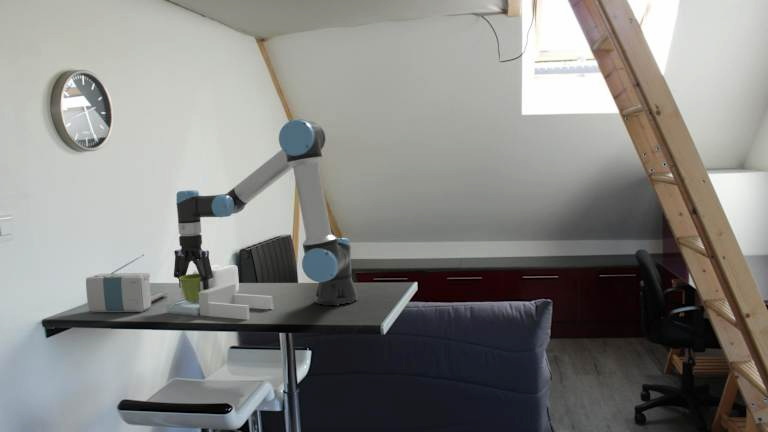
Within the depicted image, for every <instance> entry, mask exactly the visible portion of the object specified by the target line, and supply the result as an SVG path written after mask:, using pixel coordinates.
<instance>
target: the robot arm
mask: <svg viewBox="0 0 768 432" xmlns="http://www.w3.org/2000/svg"><path fill="white" fill-rule="evenodd" d="M278 142H279V143H278V144H279V146H280V148H281V150H279V151H278V152H276V153H275V154H274V155H273V156H272V157H271V158H269V159H268V160H266V161H265V162H264V163H262V164H261V166H259V167H258V168H257V169H256V170H254V171H253V172H252V173H250V174H249V175H247V177H246V178H244V179H243V180H242V181H240V182H239V183H238V184H236V185H235V186H234V187H233V188H232V189H230V190H229V191H228V192H227V193H223V194H214V195H213V194H212V195H200V194H199V191H198V190H196V189H195V190H193V189H191V190H189V189H188V190H179V191H178V192H176V204H175V205H176V211H177V224H178V225H177V226H178V235H179V237H178V239H179V246H180V247H181V249H176V250H174V251H173V253H174V268H173V278H176V279H178V284H179V285H178V286H179V289H180V299H184V298H185V295H184V290H183V286H182V283H181V280H180V279H179V277H181V276H184V275H187V272H188V268H189V265H190V263H191V262H192V263H193V264H194V265H195V267H196V270H198V272H199V275H200V277H201V279H202V280H200V289H201V291H204V290H207V289H209V283H208V280H209V279H211V278H213V274H212V269H211V266H212V265H211V262H210V261H211V260H210V251H209V250H204V249H202V244H203V239H202V238H203V237H202V235H201V233H202V226H201V225H202V223H201V218H226V217H231V216H232V214H233V215H234V214H237V213H240V212H241V211H242V210H244V209H245V207H246V206H247V204H248V203H250V202H251V201H252V200H254V199H255V198H256V197H257V196H259V195H260V194H261V193H263V192H264V191H265V190H266V189H267V188H269V187H270V186H272V185H273V184H274V183H276V182H277V181H278V180H280V179H281V178H282V177H283V176H285V175H286V174H287V173H288V172H290V170H292V169H293V175H294V179H295V180H294V181H295V185H296V191H297V196H298V201H299V202H298V203H299V208H300V213H301V216H302V218H301V219H302V223H303V228H304V234H305V239H304V241H303V242H302V248H303V253H304V254H303V255H304V256H303V257H302V261H301V268H302V270H303V273H304V275H305V276H306V277H307V278H308V279H309V280H311V281H313V282H316V283H317V289H316V292H315V297H314V298H315V303H316V304H317V303H318V304H317V305H320V304H323V305H322V306H328V305H335V306H338V305H337V304H345V303H350V302H353V301H355V300H357V301H358V292H357V290H356V287H355V283H354V282H353V280H352V260H351V258H352V257H351V247H352V246H351V243H350V239H349V238H347V237H337V236H335V235H334V234H333V233H332V230H331V229H332V228H331V224H330V218H329V213H328V208H327V207H328V206H327V203H326V197H325V190H324V185H323V180H322V175H321V169H320V162H321V160H322V158H323V155H322V150H323V148H324V147H325V144H326V133H325V131H324V129H323V127H322V126H321V125H319V124H318V123H317V122H314V121H309V120H305V119H300V118H299V119H292V120H290V121H288V122H286V123H285V124H284V125H283V126H282V128H280V131H279V133H278ZM204 276H205V277H204ZM355 302H356V301H355ZM353 303H354V302H353ZM350 304H351V303H350ZM345 305H346V304H345Z"/></svg>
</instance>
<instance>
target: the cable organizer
mask: <svg viewBox="0 0 768 432" xmlns="http://www.w3.org/2000/svg"><path fill="white" fill-rule="evenodd" d="M211 269H212V274H213V278H211V279H209V280H208V283H209V289H210V288H214V287H217V286H220V285H223V284H235V286H236V294H238V292H239V290H240V284H239V283H240V282H239V281H240V280H239V269H238V266H237V265H236V264H231V265H228V266H227V265H226V266H224V267H221V265H219V264H213V265H211ZM192 274H199V272H198V270H197V269H195V270H193V272H192Z"/></svg>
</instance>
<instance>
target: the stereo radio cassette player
mask: <svg viewBox="0 0 768 432" xmlns="http://www.w3.org/2000/svg"><path fill="white" fill-rule="evenodd" d="M144 256H145V254H142V255H140V256H139V257H137V258H135V259H133V260H132V261H129V262H128V263H126V264H124V265H122V266H121V267H119V268H117V269H116V270H114V271H112V272H111V273H98V274H94V275H92V276H88V277H86V278H85V289H86V299H87V301H86V302H87V307H88V311H90V312H91V313H94V314H95V313H143V312H145V311H147V310H148V309H150V308H151V306H152V297H151V286H150V277H151V276H150V273H149V272H130V273H129V272H128V273H127V272H126V273H124V272H123V273H121V272H120V273H119V272H118V271H120V270H122V269H124V268H126V267H127V266H129V265H130V264H132V263H134V262H135V261H136V260H138V259H140V258H141V257H144Z"/></svg>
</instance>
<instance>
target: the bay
mask: <svg viewBox="0 0 768 432" xmlns="http://www.w3.org/2000/svg"><path fill="white" fill-rule="evenodd" d="M198 293H199V307H200V315H199V316H204V317H205V316H206V317H214V318H215V317H216V318H224V319H225V318H226V319H237V320H246V321H247V320H248V321H249V320H250V319H251V318H250V309H256V310H257V309H258V310H268V309H272V310H274V296H272V295H260V294H246V293H245V294H244V293H236V286H235V284H223V285H220V286H217V287H214V288H210V289H207V290H204V291H201V292H198Z"/></svg>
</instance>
